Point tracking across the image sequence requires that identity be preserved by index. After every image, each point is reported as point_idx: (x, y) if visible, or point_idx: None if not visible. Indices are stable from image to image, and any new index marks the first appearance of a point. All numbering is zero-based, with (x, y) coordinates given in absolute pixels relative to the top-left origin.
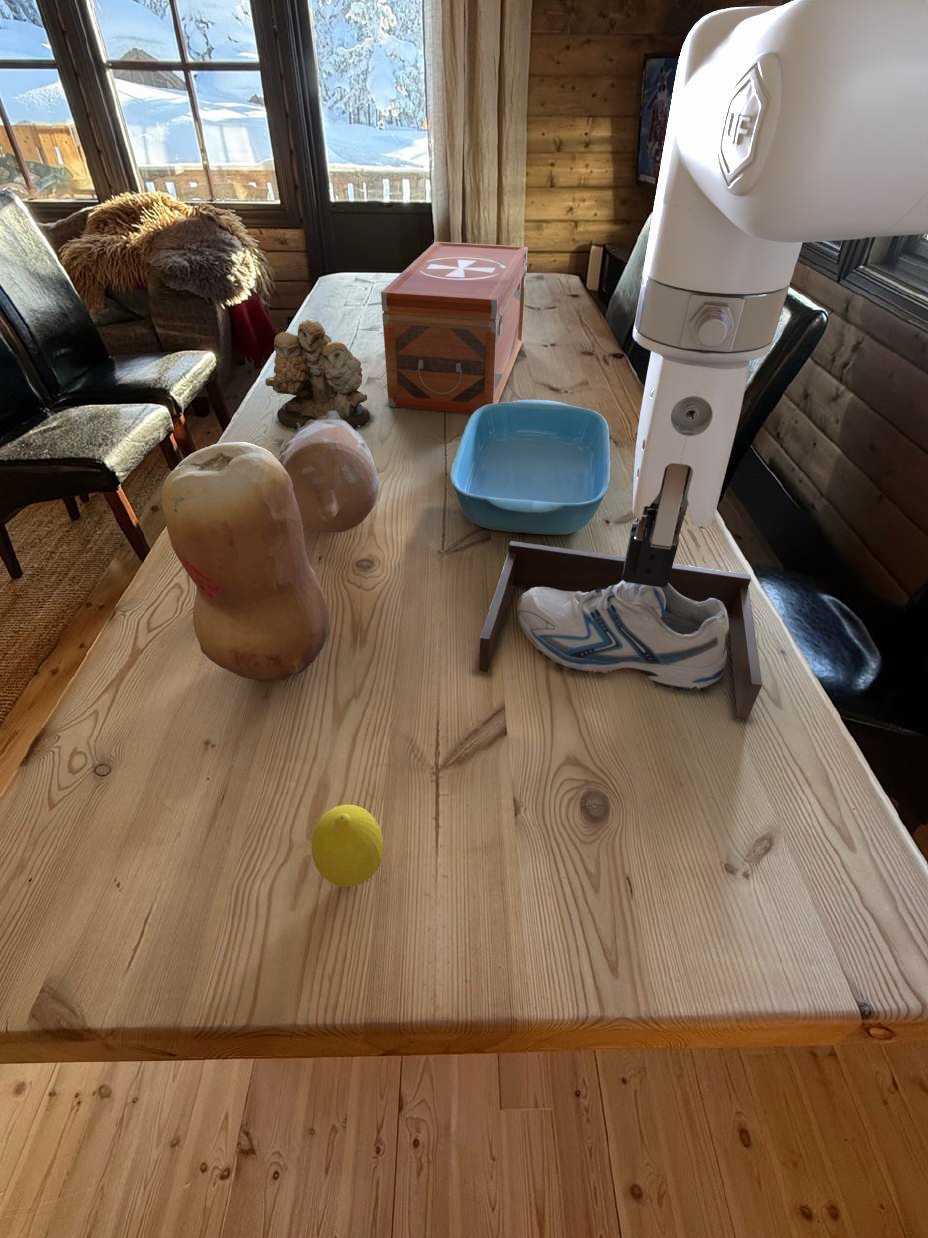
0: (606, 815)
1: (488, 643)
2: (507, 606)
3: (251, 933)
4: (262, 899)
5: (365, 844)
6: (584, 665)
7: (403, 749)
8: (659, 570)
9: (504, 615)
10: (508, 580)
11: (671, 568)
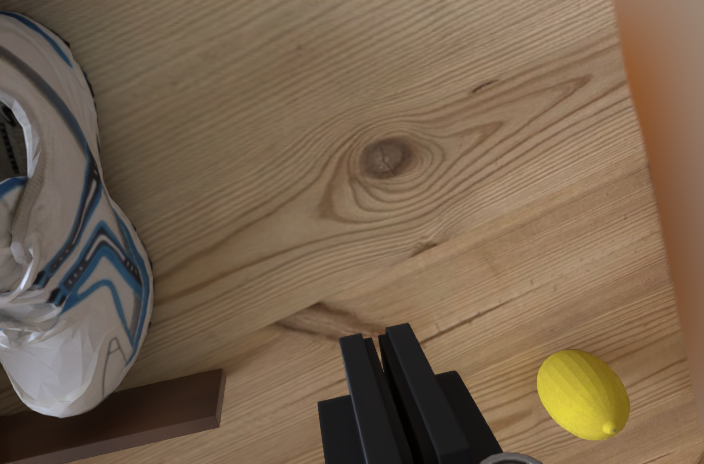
0: (395, 140)
1: (217, 409)
2: None
3: None
4: None
5: (612, 388)
6: (142, 255)
7: None
8: (470, 395)
9: None
10: (41, 451)
11: (427, 362)
